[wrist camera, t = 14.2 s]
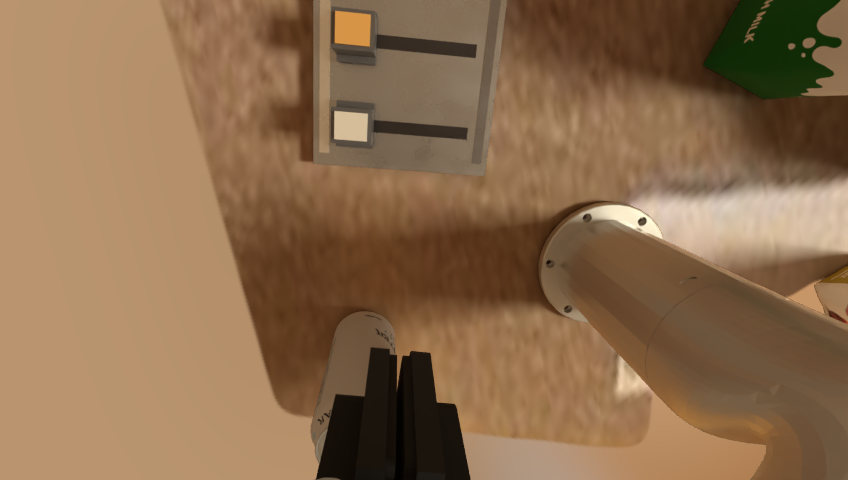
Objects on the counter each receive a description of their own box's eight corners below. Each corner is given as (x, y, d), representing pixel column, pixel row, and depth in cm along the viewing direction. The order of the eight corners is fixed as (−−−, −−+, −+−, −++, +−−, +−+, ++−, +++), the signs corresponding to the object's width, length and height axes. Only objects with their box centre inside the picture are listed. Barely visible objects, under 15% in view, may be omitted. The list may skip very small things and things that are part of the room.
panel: (514, -86, 31) (519, -93, 30) (481, 173, 37) (484, 176, 36) (316, -112, 30) (313, -122, 28) (315, 161, 36) (313, 163, 34)
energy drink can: (399, 352, 42) (403, 476, 28) (342, 363, 42) (317, 492, 28) (389, 301, 40) (387, 406, 26) (329, 312, 40) (295, 423, 26)
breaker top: (374, 103, 33) (372, 102, 29) (372, 148, 34) (370, 152, 30) (337, 100, 33) (330, 99, 29) (336, 145, 34) (329, 149, 30)
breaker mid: (377, 14, 31) (375, 1, 27) (375, 65, 32) (373, 59, 28) (338, 10, 31) (330, -4, 27) (337, 61, 32) (330, 55, 28)
